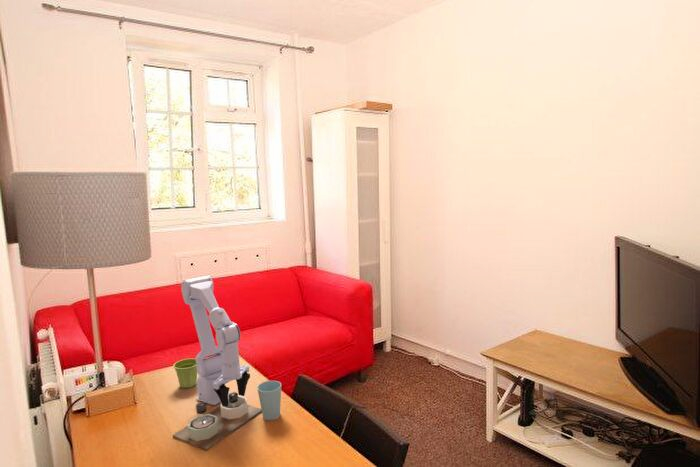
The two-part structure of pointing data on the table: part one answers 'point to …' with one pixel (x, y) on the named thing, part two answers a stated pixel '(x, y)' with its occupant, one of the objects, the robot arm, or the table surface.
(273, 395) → the cup
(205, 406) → the plunger
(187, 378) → the plant pot
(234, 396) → the plunger
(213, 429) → the housing
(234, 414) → the housing
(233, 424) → the board
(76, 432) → the table surface
